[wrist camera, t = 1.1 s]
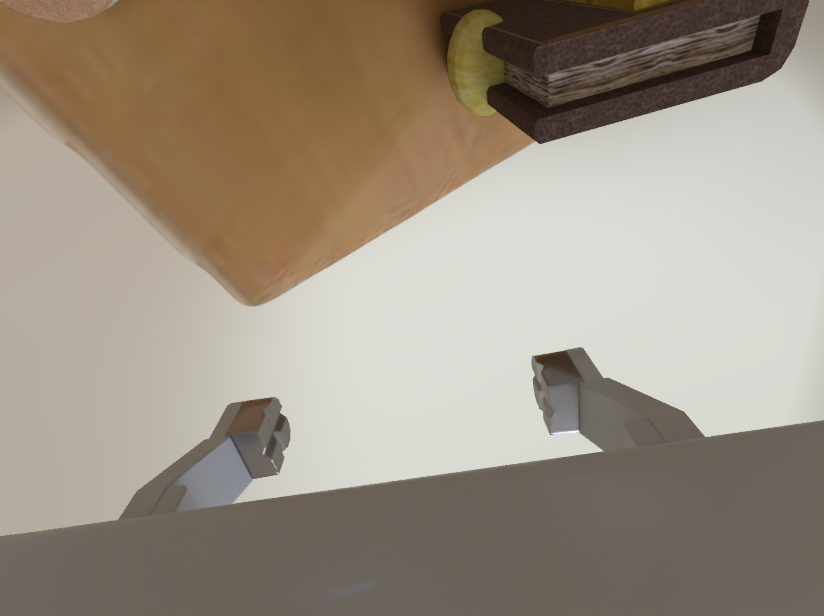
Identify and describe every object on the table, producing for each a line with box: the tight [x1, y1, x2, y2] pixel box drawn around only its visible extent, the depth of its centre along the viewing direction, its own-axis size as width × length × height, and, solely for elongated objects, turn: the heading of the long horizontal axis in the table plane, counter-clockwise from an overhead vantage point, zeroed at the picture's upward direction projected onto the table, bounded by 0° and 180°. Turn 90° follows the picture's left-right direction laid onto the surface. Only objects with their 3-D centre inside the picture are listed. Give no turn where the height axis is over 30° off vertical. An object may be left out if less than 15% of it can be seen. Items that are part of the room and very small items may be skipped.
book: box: [440, 0, 809, 144], centre depth 39 cm, size 22×8×25 cm, turn 102°
